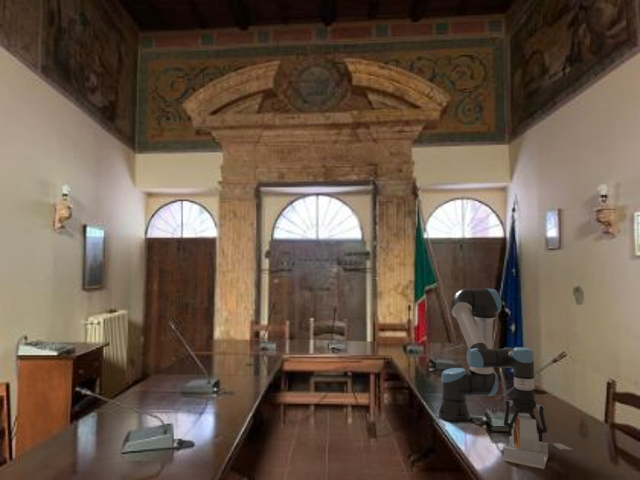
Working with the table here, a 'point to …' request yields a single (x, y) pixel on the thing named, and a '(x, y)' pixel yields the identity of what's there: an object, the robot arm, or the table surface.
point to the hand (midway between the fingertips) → (525, 447)
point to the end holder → (526, 455)
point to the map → (561, 446)
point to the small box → (525, 433)
